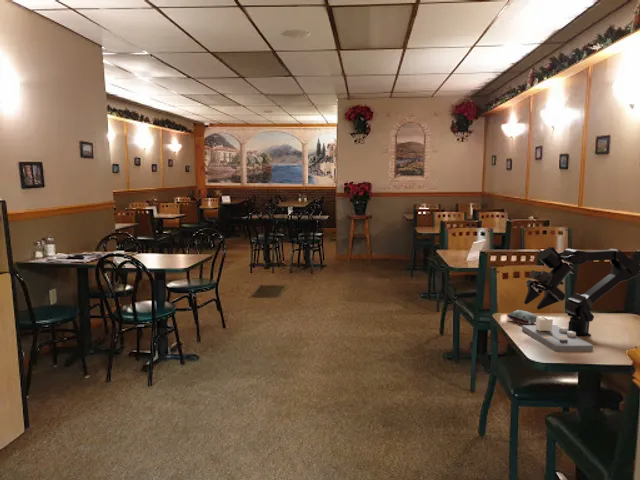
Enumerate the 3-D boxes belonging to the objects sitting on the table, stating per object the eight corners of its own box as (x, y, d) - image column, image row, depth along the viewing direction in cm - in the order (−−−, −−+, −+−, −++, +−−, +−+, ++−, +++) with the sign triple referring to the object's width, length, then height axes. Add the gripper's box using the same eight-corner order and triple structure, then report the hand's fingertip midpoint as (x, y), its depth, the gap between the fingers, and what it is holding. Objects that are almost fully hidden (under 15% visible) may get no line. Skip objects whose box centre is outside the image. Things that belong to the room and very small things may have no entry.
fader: (535, 328, 189) (536, 317, 189) (547, 328, 190) (548, 316, 189) (539, 330, 186) (540, 319, 186) (551, 330, 187) (552, 319, 186)
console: (522, 330, 195) (522, 321, 194) (554, 329, 196) (555, 321, 195) (555, 351, 171) (556, 341, 170) (592, 350, 172) (593, 341, 172)
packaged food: (519, 317, 213) (520, 306, 212) (542, 325, 203) (543, 313, 202) (506, 320, 209) (506, 309, 208) (528, 328, 199) (529, 316, 198)
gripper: (529, 259, 195) (504, 289, 195) (556, 265, 176) (529, 298, 176) (548, 276, 196) (524, 305, 196) (577, 284, 178) (550, 316, 178)
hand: (531, 306), depth 187 cm, fingers open, 9 cm apart
